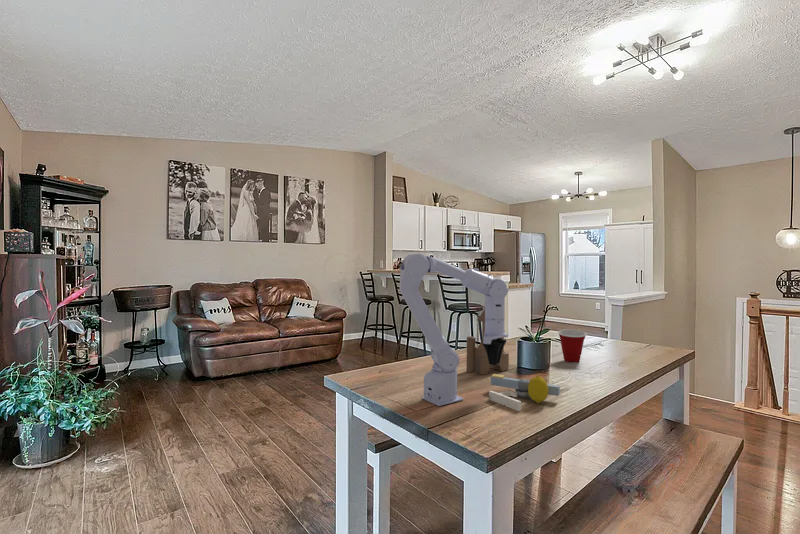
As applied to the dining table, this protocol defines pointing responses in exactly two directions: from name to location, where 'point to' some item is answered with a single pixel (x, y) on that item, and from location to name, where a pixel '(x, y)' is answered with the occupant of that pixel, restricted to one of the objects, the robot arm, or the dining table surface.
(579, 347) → the plastic cup
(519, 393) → the base
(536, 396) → the lemon
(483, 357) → the wooden toy
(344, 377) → the dining table surface
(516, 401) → the cream l-shaped bracket
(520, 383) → the lever
